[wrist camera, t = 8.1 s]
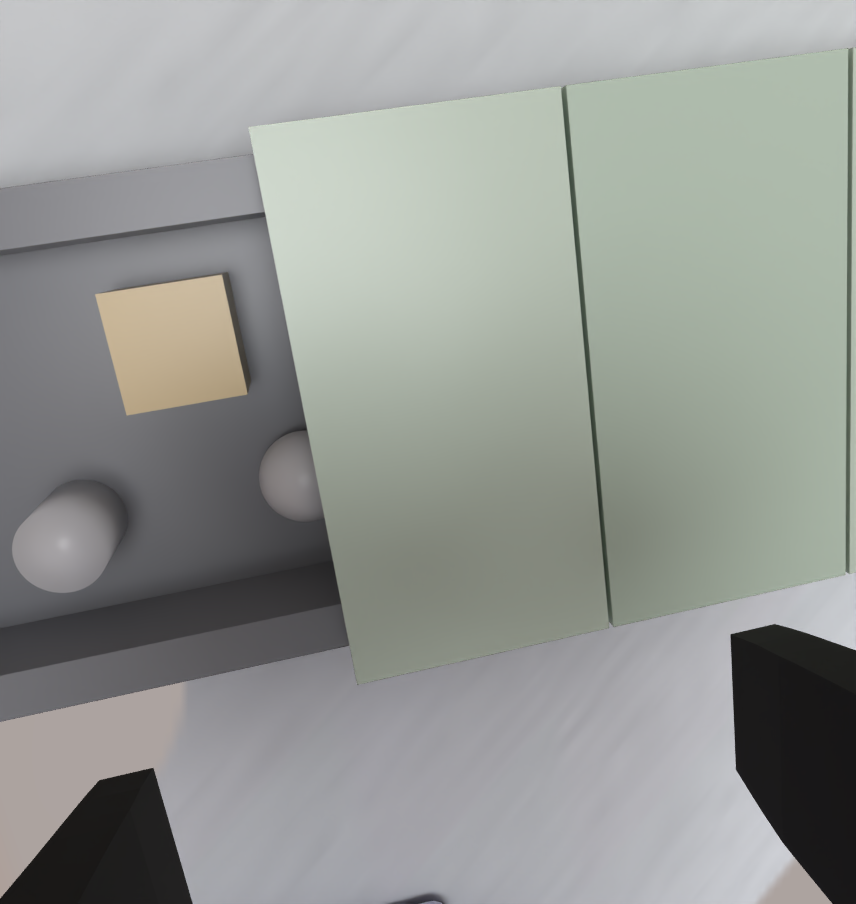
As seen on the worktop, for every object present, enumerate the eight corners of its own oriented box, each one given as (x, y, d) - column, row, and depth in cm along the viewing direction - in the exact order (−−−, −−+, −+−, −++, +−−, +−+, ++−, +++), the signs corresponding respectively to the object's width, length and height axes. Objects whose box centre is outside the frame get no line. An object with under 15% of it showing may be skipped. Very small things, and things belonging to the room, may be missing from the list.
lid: (1031, 514, 19) (1211, 578, 15) (354, 664, 17) (371, 781, 13) (1069, 25, 16) (1303, -41, 12) (250, 133, 14) (236, 93, 10)
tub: (576, 538, 20) (623, 585, 18) (-70, 672, 18) (-135, 751, 16) (536, 131, 18) (584, 109, 15) (-230, 237, 16) (-345, 235, 13)
